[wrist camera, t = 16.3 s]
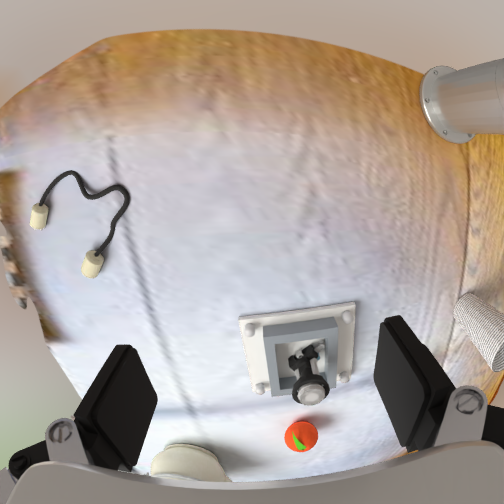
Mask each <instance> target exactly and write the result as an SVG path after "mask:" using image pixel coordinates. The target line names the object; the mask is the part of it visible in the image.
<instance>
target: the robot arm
mask: <svg viewBox="0 0 504 504" xmlns="http://www.w3.org/2000/svg"><path fill="white" fill-rule="evenodd" d="M420 103H421V106H422V110H423V113H424V115H425V118H426V119H427V121H428V123H429V125H430V126H431V127H432V129H433V130H434V131H435V132H436V133H437V134H438V135H439V136H440V137H441V138H443V139H444V140H446V141H448V142H451V143H466V142H468V141H470V140H471V139H472V138H473V137H474V136H475V135H476V134H500V135H504V58H503V59H499V60H495V61H491V62H487V63H483V64H479V65H476V66H472V67H468V68H465V69H462V70H458V71H457V70H455V69H453V68H450V67H447V66H437V67H434V68H432V69H430V70H429V71H428V72H427V73H426V74H425V75H424V76H423V78H422V81H421V84H420ZM374 382H375V385H376V387H377V389H378V391H379V394H380V396H381V398H382V401H383V403H384V406H385V408H386V410H387V413H388V415H389V418H390V420H391V422H392V425H393V427H394V430H395V432H396V435H397V437H398V440H399V442H400V445H401V446H402V447H405V446H406V449H407V451H408V453H409V452H412V451H415V450H418V452H415V453H411V454H408V455H405V456H402V457H398V458H395V459H391V460H388V461H384V462H380V463H376V464H372V465H368V466H364V467H360V468H355V469H351V470H346V471H341V472H336V473H331V474H325V475H318V476H312V477H304V478H296V479H286V480H275V481H259V482H204V481H188V480H176V479H167V478H159V477H151V476H145V475H139V474H133V473H127V472H131V470H132V467H133V466H135V465H136V464H137V461H138V458H139V455H140V452H141V449H142V446H143V443H144V440H145V437H146V434H147V431H148V428H149V425H150V422H151V419H152V417H153V414H154V411H155V408H156V405H157V401H158V399H157V394H156V392H155V390H154V388H153V386H152V384H151V382H150V379H149V377H148V375H147V373H146V371H145V368H144V366H143V364H142V362H141V359H140V357H139V355H138V352H137V350H136V349H135V348H133V347H132V346H131V345H116V346H115V348H114V349H113V351H112V352H111V354H110V355H109V357H108V359H107V360H106V362H105V363H104V365H103V367H102V368H101V370H100V371H99V373H98V375H97V376H96V378H95V380H94V381H93V383H92V384H91V386H90V388H89V389H88V391H87V393H86V394H85V396H84V398H83V400H82V402H81V403H80V405H79V407H78V408H77V410H76V412H75V413H74V416H75V420H74V421H72V420H71V419H68V418H61V419H58V420H56V421H54V422H52V423H51V424H50V425H49V426H48V428H47V430H46V433H45V439H46V440H44V441H42V442H39V443H37V444H35V445H32V446H30V447H28V448H25V449H23V450H20V451H18V452H16V453H15V454H14V455H13V456H12V457H11V459H10V461H9V469H7V468H6V467H5V468H4V469H2V470H1V471H0V504H504V408H500V407H495V406H491V405H488V402H487V397H486V395H485V394H484V392H483V391H482V390H480V389H479V388H477V387H474V386H461V387H459V388H457V389H456V388H455V386H454V385H453V383H452V382H451V380H450V379H449V377H448V376H447V375H446V373H445V372H444V370H443V369H442V367H441V366H440V365H439V363H438V362H437V360H436V359H435V358H434V356H433V355H432V353H431V352H430V351H429V349H428V348H427V347H426V346H425V345H424V344H422V343H421V342H420V341H419V339H418V338H417V337H416V335H415V334H414V333H413V331H412V330H411V329H410V327H409V326H408V325H407V323H406V322H405V321H404V319H403V318H402V317H401V316H400V315H397V316H392V317H388V318H385V320H384V322H382V323H381V324H380V331H379V340H378V348H377V355H376V362H375V369H374ZM118 470H121V471H126V472H121V471H118Z"/></svg>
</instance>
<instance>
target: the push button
mask: <svg viewBox="0 0 504 504" xmlns="http://www.w3.org/2000/svg"><path fill="white" fill-rule="evenodd" d="M320 343H322V344H321V345H320ZM323 344H324V342H323V341H320V342H319V343H317V344H315V345H312V344H310V345H308V346H307V347H306V348H304V349H303V350H302V351H301V348H300V349H298V350H297V351H296V355H294V356H293V355H291V356H290V357H289V358H288V362H289V368H291V369H292V370H293V371H294V372H295V374H296V377H297V381H296V382H295V383H294V385H293V390H292V396H293V399H294V400H295V401H296V402H298V403H301V404H304V405H308V406H309V405H315V404H318V403H320V402H321V401H322V400H323V399H324V398H326V397H327V395H328V394H329V391H330V388H329V384H328V383H327V382H326V381H325V379H324V378H323V376H321V375H320V374H319V370H318V366H317V362H318V360H320V356H319V352H320V350H322V349H323V348H325V346H324V345H323ZM321 346H323V347H322V348H320V347H321ZM298 351H300V352H299V353H298ZM297 391H298V392H297Z"/></svg>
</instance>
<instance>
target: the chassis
mask: <svg viewBox="0 0 504 504" xmlns="http://www.w3.org/2000/svg"><path fill="white" fill-rule="evenodd" d="M355 306H356V305H355V303H354V302H348V303H342V304H336V305H329V306H322V307H315V308H308V309H301V310H293V311H286V312H278V313H269V314H260V315H251V316H242V317H239V319H238V321H239V326H240V331H241V336H242V341H243V346H244V352H245V357H246V362H247V367H248V371H249V376H250V381H251V386H252V391H253V392H256V394H259V395H261V394H264V392H265V391H270V390H271V394H272V397H273V396H283V395H291V394H292V390H293V385H294V383H295V382H296V381H297V377H296V374H295V372H294V371H293V370H292V369H291V368H289V362H288V358H289V357H290V356H291V355H293V356H294V355H296V351H297V350H298V349H300V348H301V351H302V350H303V349H304V348H306V347H307V346H308V345H310V344H312V345H315V344H317V343H319V342H320V341H323V342H324V344H323V345H324V346H325V348H323V349H322V350H320V352H319V356H320V360H318V362H317V366H318V370H319V374H320V375H321V376H323V378H324V379H325V381H326V382H327V383H328V384H329V388H330V389H331V388H336V381H340V380H341V382H342V383H346V382H348V381H349V379H351V370H352V359H353V346H354V329H355ZM321 344H322V343H320V345H321ZM322 347H323V346H321V347H320V348H322ZM299 352H300V351H298V353H299ZM297 392H298V391H297Z"/></svg>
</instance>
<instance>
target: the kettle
mask: <svg viewBox="0 0 504 504" xmlns="http://www.w3.org/2000/svg"><path fill="white" fill-rule="evenodd" d="M144 475H145V474H144ZM148 475H149V473H148V472H147V475H145V476H148ZM151 477H159V478H167V479H176V480H188V481H204V482H232V481H231V480H230V479H229V478H228V477H227V476H226V475H225V473H224V470H223V468H222V467H221V465H220V464H219V463H218V459H217V457H216V456H215V455H214V454H213V453H211V452H210V451H208V450H206V449H204V448H201V447H198V446H194V445H189V444H172V445H169V446H167V447H166V448H165V449H164V451H162V452H160V453H158V454H157V455H156V456H155V457H154V458H153V460H152V463H151Z"/></svg>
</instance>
